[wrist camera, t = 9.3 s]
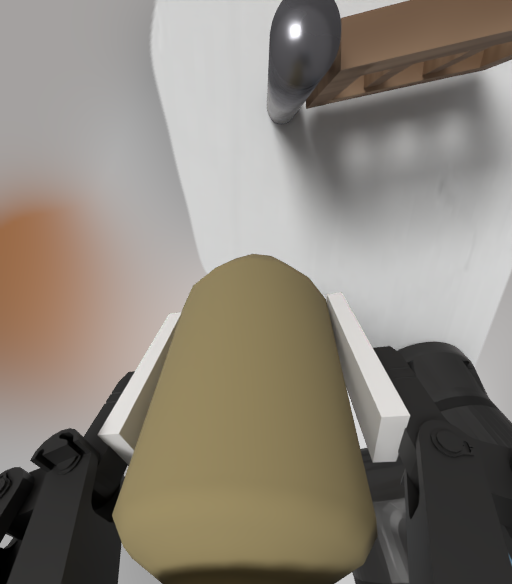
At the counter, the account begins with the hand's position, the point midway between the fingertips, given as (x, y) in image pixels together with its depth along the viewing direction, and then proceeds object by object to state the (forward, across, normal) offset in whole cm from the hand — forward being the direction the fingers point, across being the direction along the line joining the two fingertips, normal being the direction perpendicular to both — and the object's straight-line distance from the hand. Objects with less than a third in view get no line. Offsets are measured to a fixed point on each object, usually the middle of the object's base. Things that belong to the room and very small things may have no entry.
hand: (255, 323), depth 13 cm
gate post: (+19, -4, -12) cm, 22 cm away
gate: (+17, -14, -12) cm, 25 cm away
